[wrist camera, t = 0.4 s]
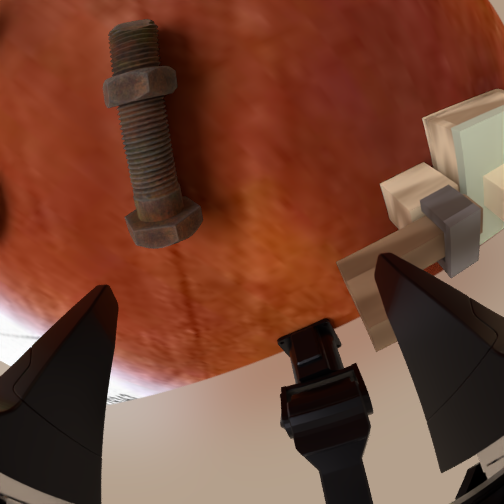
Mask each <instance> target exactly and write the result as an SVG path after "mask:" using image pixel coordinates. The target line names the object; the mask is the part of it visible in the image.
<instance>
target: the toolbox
mask: <svg viewBox="0 0 504 504" xmlns="http://www.w3.org/2000/svg"><path fill="white" fill-rule="evenodd" d="M502 105H504V90H501V89H495V90H492V91H489V92H487V93H484V94H481V95H479V96H476V97H473V98H471V99H468V100H465V101H463V102H460V103H458V104H455V105H453V106H450V107H448V108H445V109H443V110H440V111H438V112H436V113H433V114H431V115H428V116H426V117H424V118H422V120H423V124H424V128H425V132H426V136H427V140H428V145H429V149H430V154H431V159H432V164H433V168H432V167H430V166H429V165H427V164H426V163H424V162H423V163H421V164H419V165H417V166H415V167H413V168H411V169H409V170H407V171H405V172H403V173H401V174H399V175H397V176H395V177H393V178H391V179H389V180H387V181H385V182H383V183H381V184H380V186H381V189H382V193H383V196H384V200H385V204H386V207H387V211H388V215H389V219H390V220H391V221H392V222H393V224H394V225H395V226H396V227H397V228H398V229H399V230H400V229H401V228H403V227H405V226H407V225H409V224H411V223H412V222H414V221H416V220H418V219H420V218H422V217H423V216H425V215H426V216H427V217H428V218H429V219H431V220H432V221H433V222H434V223H435V224H436V225H437V226H438V227H439V228H440V229H441V230H442V231H443V232H444V240H445V257H444V258H442V259H440V260H439V261H437V262H438V263H439V264H440V265H441V267H442V268H443V269H444V270H445V272H446V273H447V274H448V275H449V277H450V278H452V277H454V276H455V275H457V274H458V273H460V272H462V271H463V270H465V269H466V268H468V267H469V266H471V265H472V264H474V263H475V262H476V261H478V259H479V246H480V223H481V209H480V208H479V207H478V206H477V205H475V204H474V203H473V202H471V201H470V200H469V199H468V198H466V197H465V196H464V195H462V194H461V193H460V186H459V176H458V168H457V160H456V154H455V147H454V141H453V136H452V131H451V128H452V127H454V126H456V125H459V124H461V123H463V122H465V121H468V120H470V119H472V118H474V117H477V116H479V115H481V114H484V113H486V112H488V111H490V110H493V109H495V108H497V107H500V106H502Z"/></svg>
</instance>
